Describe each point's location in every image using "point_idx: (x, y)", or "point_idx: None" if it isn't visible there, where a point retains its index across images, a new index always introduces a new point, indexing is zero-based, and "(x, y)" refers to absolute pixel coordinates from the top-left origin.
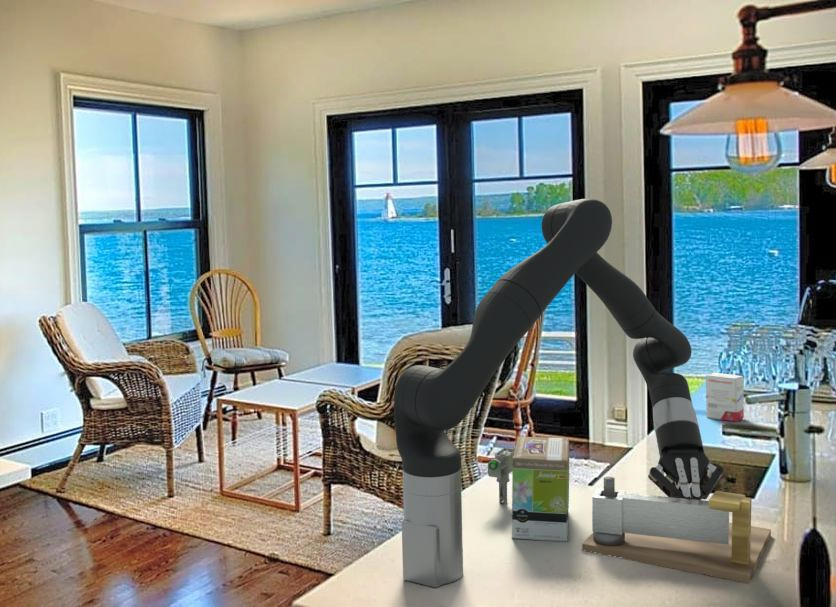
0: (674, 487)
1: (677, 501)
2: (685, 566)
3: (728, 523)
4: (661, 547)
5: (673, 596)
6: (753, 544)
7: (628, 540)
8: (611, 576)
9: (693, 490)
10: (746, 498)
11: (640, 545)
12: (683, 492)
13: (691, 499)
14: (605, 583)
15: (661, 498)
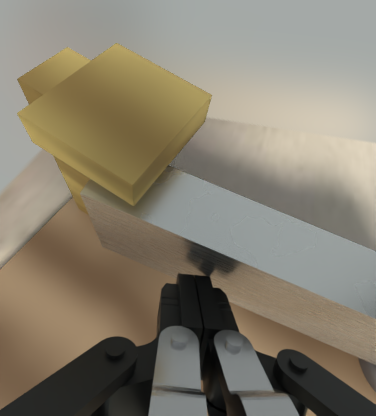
0: (307, 380)
1: (293, 239)
2: None
3: None
4: None
5: (267, 134)
6: (8, 295)
7: (347, 354)
8: (362, 207)
9: (195, 356)
10: (43, 81)
11: None
12: (250, 351)
13: (230, 254)
14: (369, 185)
15: (357, 281)
